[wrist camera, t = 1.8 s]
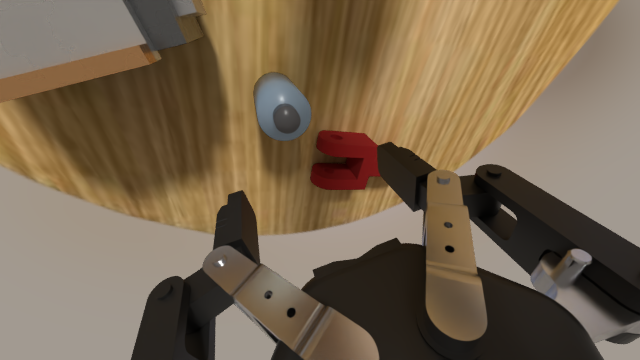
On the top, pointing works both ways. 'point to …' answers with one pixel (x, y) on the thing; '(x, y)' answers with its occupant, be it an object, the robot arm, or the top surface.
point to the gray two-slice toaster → (86, 39)
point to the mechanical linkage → (357, 164)
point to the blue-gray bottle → (281, 107)
